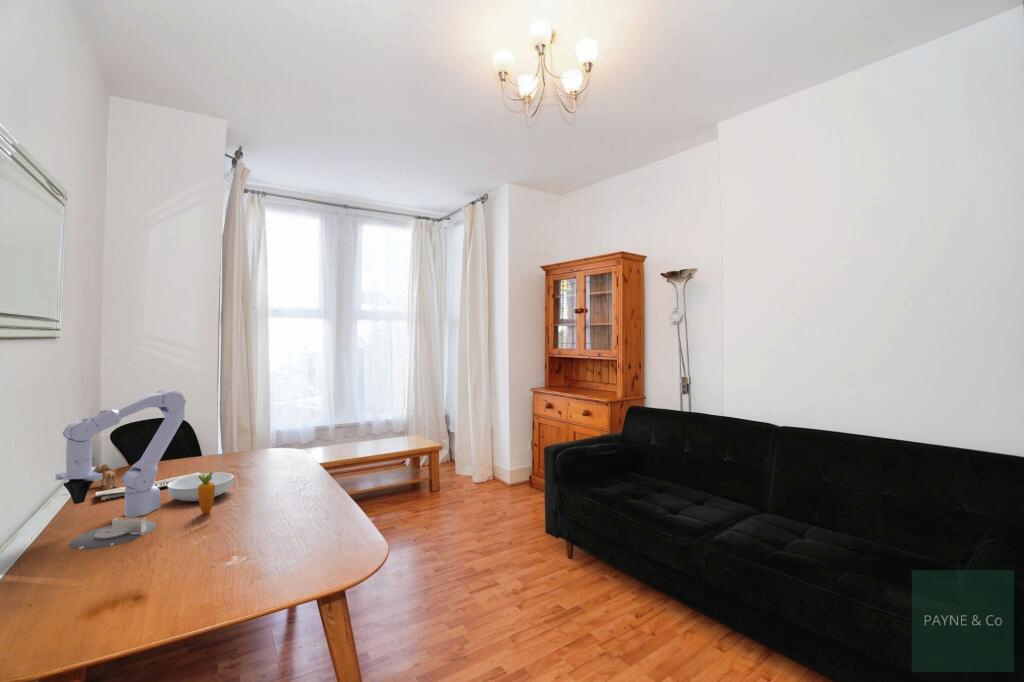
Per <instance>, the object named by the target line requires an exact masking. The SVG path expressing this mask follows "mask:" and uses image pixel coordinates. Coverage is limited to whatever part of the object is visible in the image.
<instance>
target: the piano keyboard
mask: <svg viewBox="0 0 1024 682" xmlns="http://www.w3.org/2000/svg"><path fill="white" fill-rule="evenodd" d="M197 474H203V473H202V472H194V473H188V474H183V475H178V476H174V477H169V478H164V479H158V480H157V479H156V480H155V482H154V484H153V486H156V487H158V488H159V490H160V489H165V488H168V487H167V485H168V484H169V483H170V482H172V481H174V480H177V479H180V478H183V477H187V476H192V475H197ZM125 489H126V486H123V487H122V486H121V487H117V488H110V489H109V490H106V489H105V490H101V491H96V492H95V496H96V497H100V496H101V497H100V498H101V500H100V501H101V502H103V501H102V500H104V501H107V500H106V499H109V500H112V499H111V498H114V499H117V498H116V497H118V498H122V497H121V496H123V497H125Z"/></svg>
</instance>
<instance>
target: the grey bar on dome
mask: <svg viewBox="0 0 1024 682" xmlns="http://www.w3.org/2000/svg"><path fill="white" fill-rule="evenodd" d="M146 521H147V516H146V517H145V516H144V517H142V516H140V517H139V516H136V517H125V516H123V517H116V518H114V519H112V520H111V525H112V526H109V525H107V526H108V527H105V526H104V527H105V528H102V527H101V528H102V529H100V530H98V531H96V532H95V540H98V541H105V540H112V539H116V538H120V537H123V536H126V535H128V534H130V533H142V532H144V531H146Z"/></svg>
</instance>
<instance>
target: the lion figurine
mask: <svg viewBox="0 0 1024 682" xmlns="http://www.w3.org/2000/svg"><path fill="white" fill-rule="evenodd" d="M92 472H96V473H101V474H103V479H102V480H100V482H101V483H100V485H99V487H100V486H103V485H104V486H105V485H106V489H109V490H110V489H111V488H110V485H111V486H112V487H113V489H115V488H118V487H116V486H118V485H117V484H116V481H117V480H116V473H115V471H113V470H112V468H111V467H109V465H108V464H105V463H101V464H98V465H97V466H96V468H95V469H93V470H92ZM109 484H110V485H109ZM104 486H103V487H104Z"/></svg>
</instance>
